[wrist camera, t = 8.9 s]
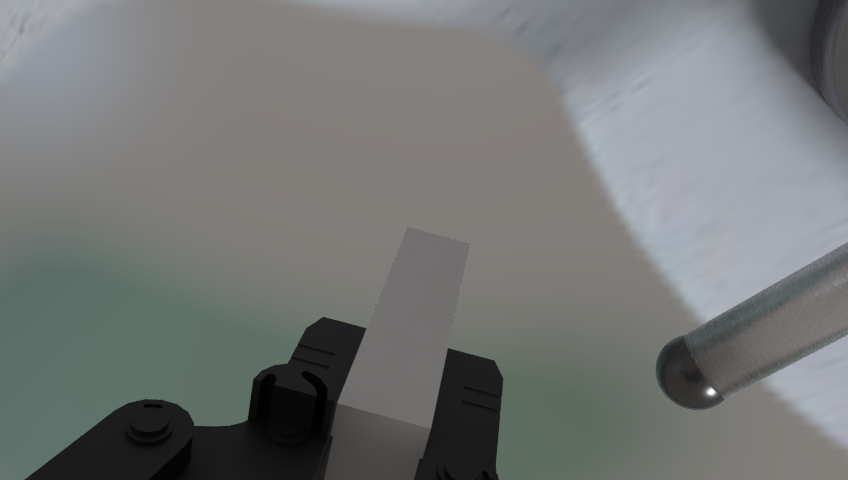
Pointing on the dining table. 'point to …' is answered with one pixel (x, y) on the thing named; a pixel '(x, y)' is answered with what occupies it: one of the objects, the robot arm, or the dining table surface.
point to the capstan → (783, 301)
